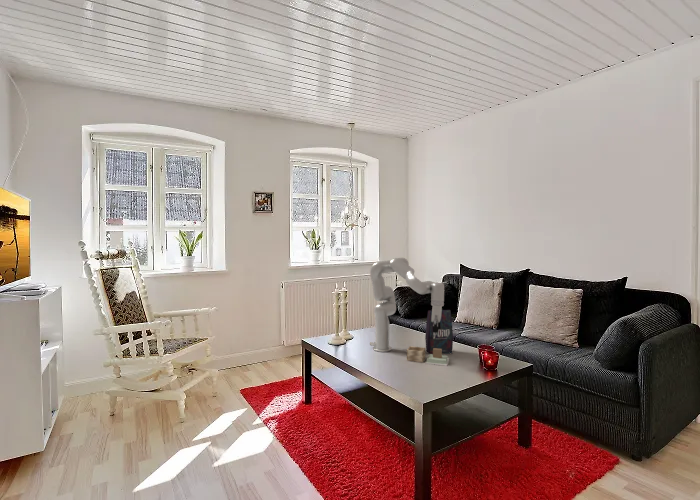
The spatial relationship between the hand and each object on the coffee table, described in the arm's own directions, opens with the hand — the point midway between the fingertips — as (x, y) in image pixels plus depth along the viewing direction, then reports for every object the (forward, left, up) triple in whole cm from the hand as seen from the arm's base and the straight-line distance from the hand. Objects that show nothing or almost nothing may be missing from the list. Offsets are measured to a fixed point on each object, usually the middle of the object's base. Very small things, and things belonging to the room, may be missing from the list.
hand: (436, 330), depth 241 cm
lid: (+1, 0, -19) cm, 19 cm away
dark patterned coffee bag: (-1, +19, -19) cm, 27 cm away
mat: (+1, 0, -19) cm, 19 cm away
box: (-12, 0, -19) cm, 23 cm away
